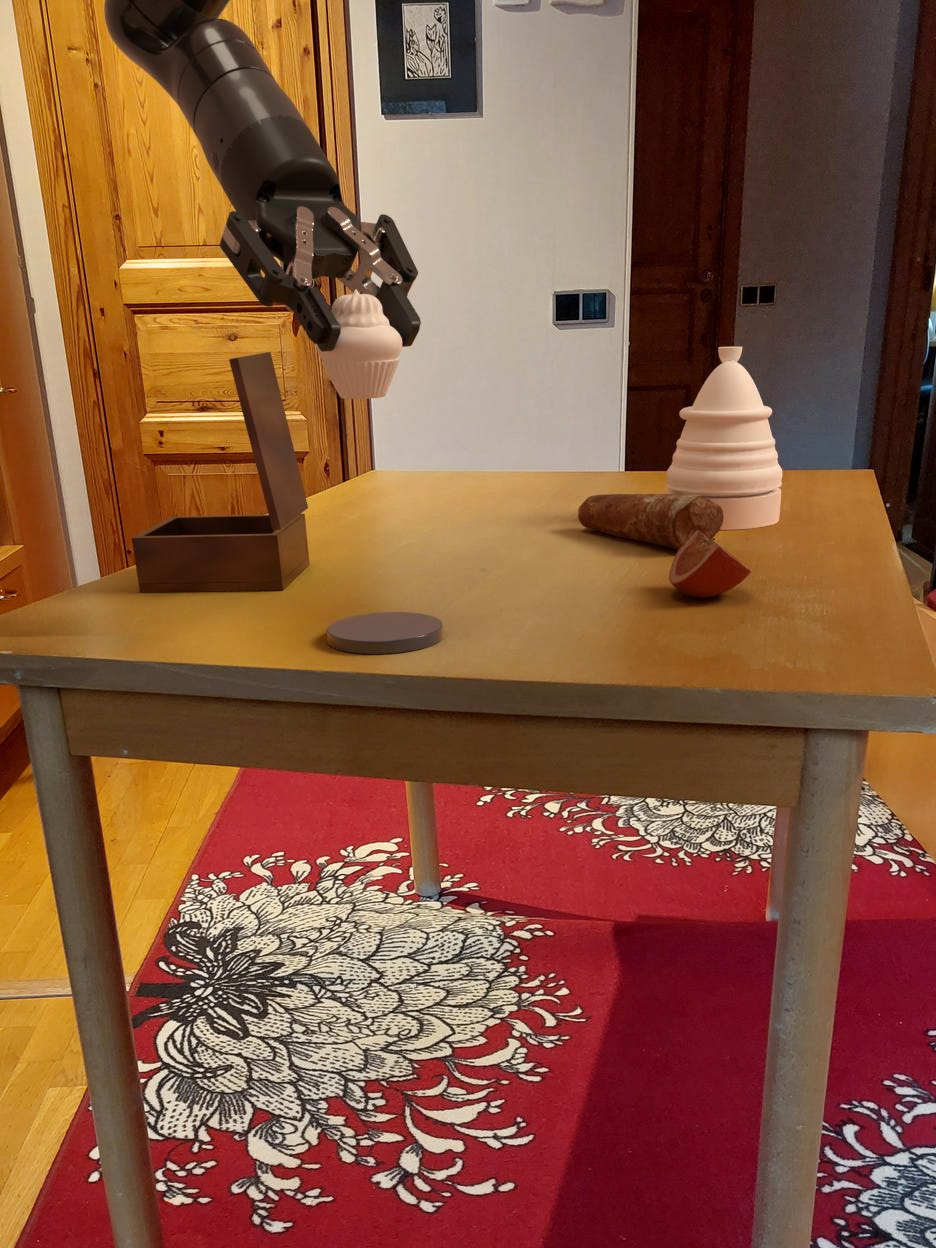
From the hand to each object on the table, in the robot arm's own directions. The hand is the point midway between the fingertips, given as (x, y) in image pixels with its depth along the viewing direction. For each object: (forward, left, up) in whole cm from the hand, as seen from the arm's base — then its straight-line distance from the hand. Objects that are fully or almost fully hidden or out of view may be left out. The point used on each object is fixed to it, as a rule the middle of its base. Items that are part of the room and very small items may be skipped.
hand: (373, 339), depth 81 cm
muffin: (-1, +1, -4) cm, 4 cm away
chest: (-20, +24, -21) cm, 37 cm away
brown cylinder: (+20, +39, -22) cm, 49 cm away
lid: (-14, +24, -9) cm, 29 cm away
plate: (-1, +1, -21) cm, 21 cm away
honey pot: (+30, +51, -22) cm, 63 cm away
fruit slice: (+25, +14, -22) cm, 36 cm away
